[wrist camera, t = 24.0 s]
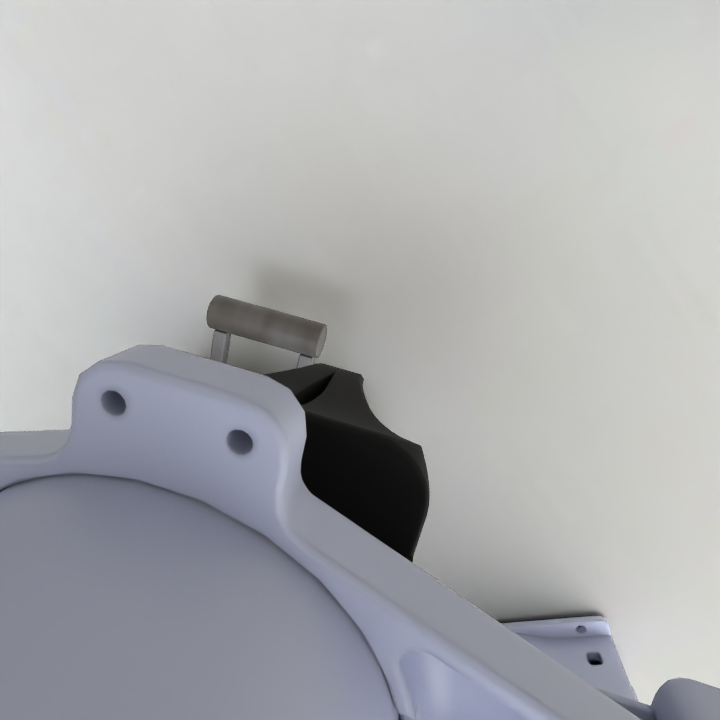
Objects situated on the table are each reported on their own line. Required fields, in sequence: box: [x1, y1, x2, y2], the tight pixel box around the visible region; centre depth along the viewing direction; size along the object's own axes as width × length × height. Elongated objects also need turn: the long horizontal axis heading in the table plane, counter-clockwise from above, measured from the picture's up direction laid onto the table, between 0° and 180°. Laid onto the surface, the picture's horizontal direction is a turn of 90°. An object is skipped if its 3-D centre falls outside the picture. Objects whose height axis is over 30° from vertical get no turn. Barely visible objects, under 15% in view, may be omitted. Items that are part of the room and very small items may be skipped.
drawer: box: [206, 295, 327, 368], centre depth 23 cm, size 17×10×6 cm, turn 167°
